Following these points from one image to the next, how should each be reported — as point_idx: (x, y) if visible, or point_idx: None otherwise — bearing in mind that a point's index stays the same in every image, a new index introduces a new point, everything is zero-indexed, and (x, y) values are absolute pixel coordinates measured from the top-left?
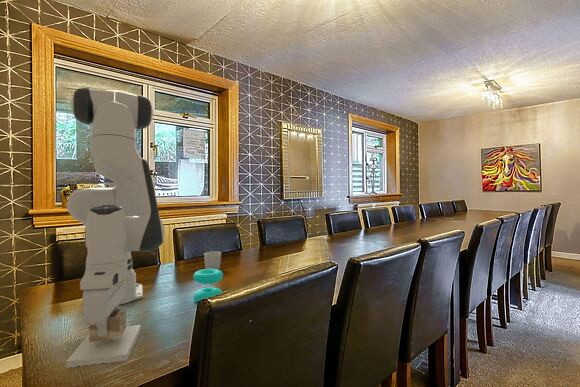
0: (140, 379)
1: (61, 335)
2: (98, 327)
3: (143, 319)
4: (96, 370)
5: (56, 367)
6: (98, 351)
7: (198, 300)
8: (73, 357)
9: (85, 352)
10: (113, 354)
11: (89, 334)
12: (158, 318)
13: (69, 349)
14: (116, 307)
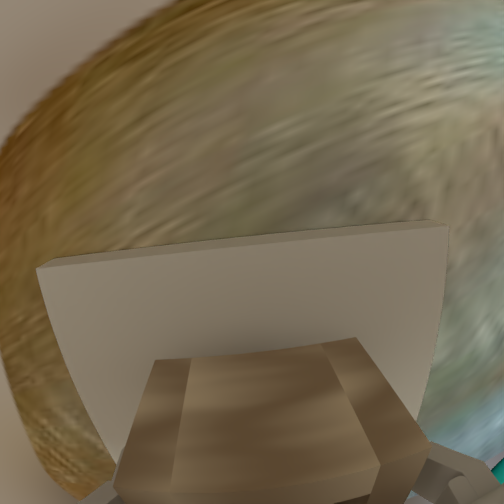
0: (52, 475)
1: (444, 53)
2: (98, 495)
3: (492, 379)
4: (55, 384)
5: (62, 201)
6: (133, 388)
7: (500, 470)
8: (68, 288)
9: (121, 330)
10: (113, 443)
11: (143, 394)
12: (472, 423)
13: (265, 159)
14: (436, 499)
